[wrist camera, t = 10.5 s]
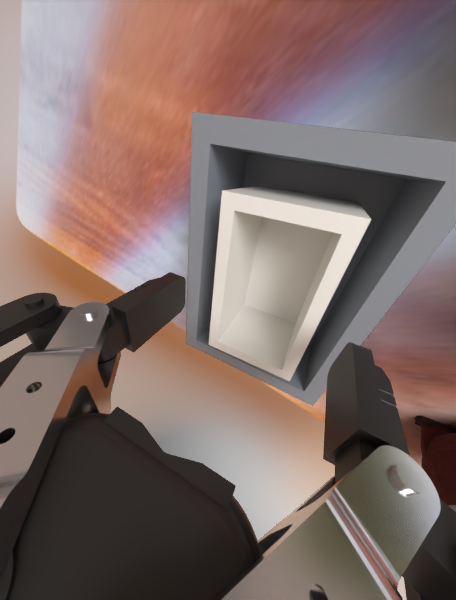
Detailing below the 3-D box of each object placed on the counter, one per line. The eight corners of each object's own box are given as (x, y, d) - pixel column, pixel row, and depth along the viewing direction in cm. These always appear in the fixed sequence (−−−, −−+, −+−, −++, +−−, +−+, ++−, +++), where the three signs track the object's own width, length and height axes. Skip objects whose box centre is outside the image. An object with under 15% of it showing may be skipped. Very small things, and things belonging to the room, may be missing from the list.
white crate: (239, 304, 19) (208, 344, 15) (261, 185, 13) (221, 190, 9) (302, 327, 17) (289, 381, 13) (358, 202, 12) (371, 219, 7)
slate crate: (217, 308, 22) (185, 343, 17) (242, 134, 13) (192, 112, 9) (318, 350, 19) (312, 405, 14) (435, 160, 10) (514, 148, 6)
